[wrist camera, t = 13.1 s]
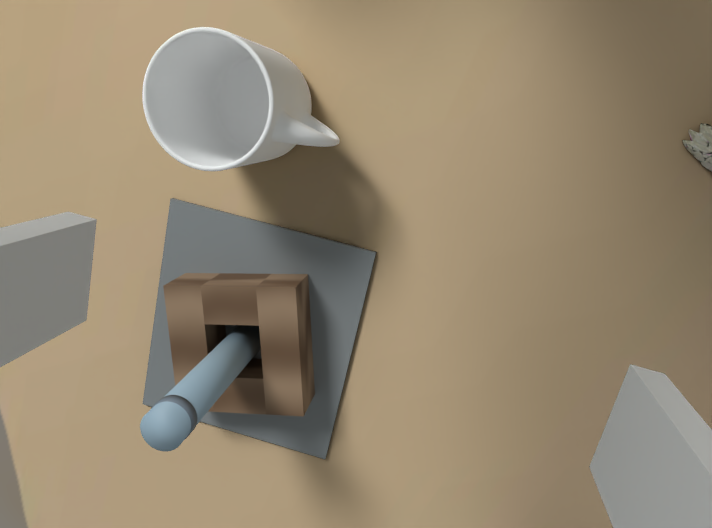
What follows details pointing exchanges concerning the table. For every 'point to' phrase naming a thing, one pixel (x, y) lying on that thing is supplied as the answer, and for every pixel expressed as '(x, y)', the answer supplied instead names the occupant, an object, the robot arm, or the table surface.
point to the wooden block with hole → (246, 307)
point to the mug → (227, 101)
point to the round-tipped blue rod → (199, 390)
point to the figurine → (701, 145)
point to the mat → (247, 256)
